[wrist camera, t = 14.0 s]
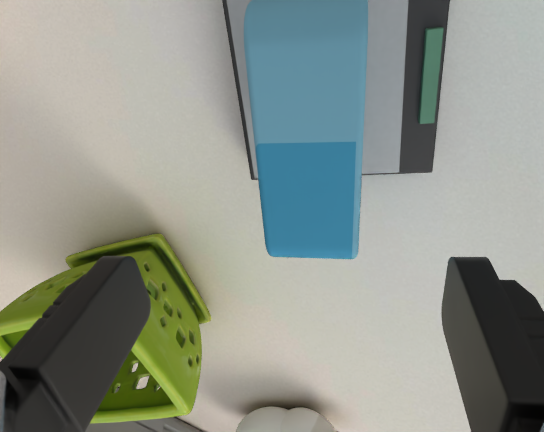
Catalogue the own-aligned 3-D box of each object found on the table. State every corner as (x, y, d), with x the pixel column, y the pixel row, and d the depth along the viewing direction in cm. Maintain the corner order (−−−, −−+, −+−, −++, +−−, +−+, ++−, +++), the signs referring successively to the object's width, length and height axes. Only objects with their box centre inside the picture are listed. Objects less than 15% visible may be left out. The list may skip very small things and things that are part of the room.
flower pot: (63, 240, 42) (-32, 331, 31) (171, 209, 38) (104, 303, 27) (131, 329, 48) (71, 430, 38) (230, 311, 44) (195, 420, 33)
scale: (445, -50, 24) (458, -53, 21) (426, 159, 31) (434, 177, 28) (228, -19, 27) (215, -18, 24) (256, 167, 34) (249, 184, 31)
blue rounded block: (282, -11, 24) (237, 2, 14) (358, -17, 23) (370, -9, 13) (292, 169, 30) (267, 270, 20) (352, 169, 29) (357, 273, 19)
